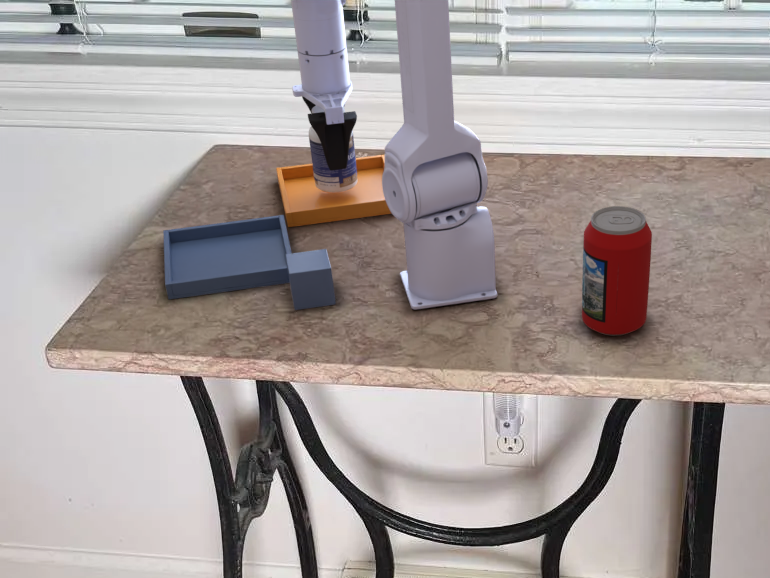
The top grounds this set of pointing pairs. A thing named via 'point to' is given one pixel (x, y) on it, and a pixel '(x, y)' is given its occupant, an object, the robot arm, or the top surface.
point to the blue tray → (226, 256)
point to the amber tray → (332, 194)
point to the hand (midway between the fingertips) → (334, 158)
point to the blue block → (310, 279)
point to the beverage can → (616, 270)
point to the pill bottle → (322, 173)
